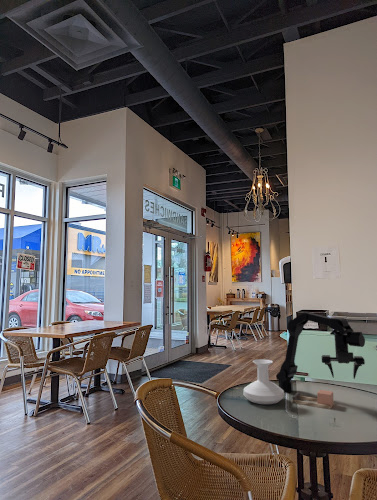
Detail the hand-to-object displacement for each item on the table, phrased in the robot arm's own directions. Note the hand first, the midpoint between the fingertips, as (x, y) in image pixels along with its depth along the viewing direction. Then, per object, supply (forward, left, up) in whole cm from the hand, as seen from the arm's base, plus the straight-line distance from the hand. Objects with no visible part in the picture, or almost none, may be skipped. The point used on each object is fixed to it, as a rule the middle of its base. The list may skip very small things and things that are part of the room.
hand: (343, 378), depth 173 cm
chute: (-14, -3, -13) cm, 19 cm away
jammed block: (-8, -3, -13) cm, 16 cm away
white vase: (-36, -11, -13) cm, 40 cm away
